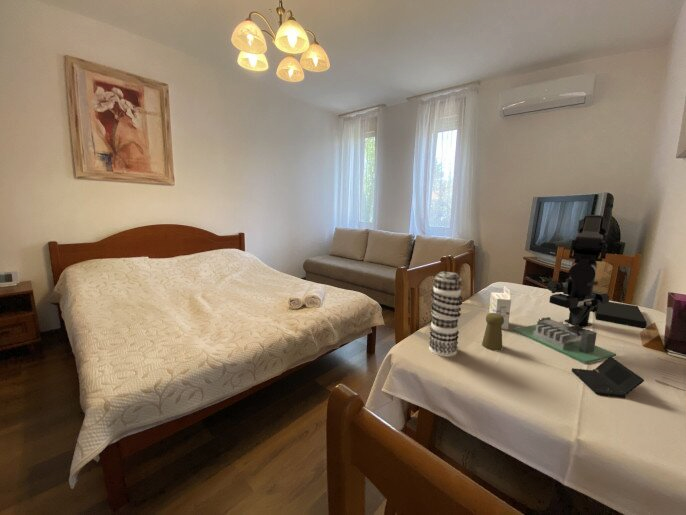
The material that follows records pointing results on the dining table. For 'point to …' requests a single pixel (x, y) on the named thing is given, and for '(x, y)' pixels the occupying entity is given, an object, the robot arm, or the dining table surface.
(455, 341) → the decorative candle
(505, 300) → the ink cartridge box
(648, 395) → the dining table surface
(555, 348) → the circuit board
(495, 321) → the cork
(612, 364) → the handheld gaming console
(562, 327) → the retention strap
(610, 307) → the external hard drive
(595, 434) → the dining table surface
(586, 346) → the heat sink
